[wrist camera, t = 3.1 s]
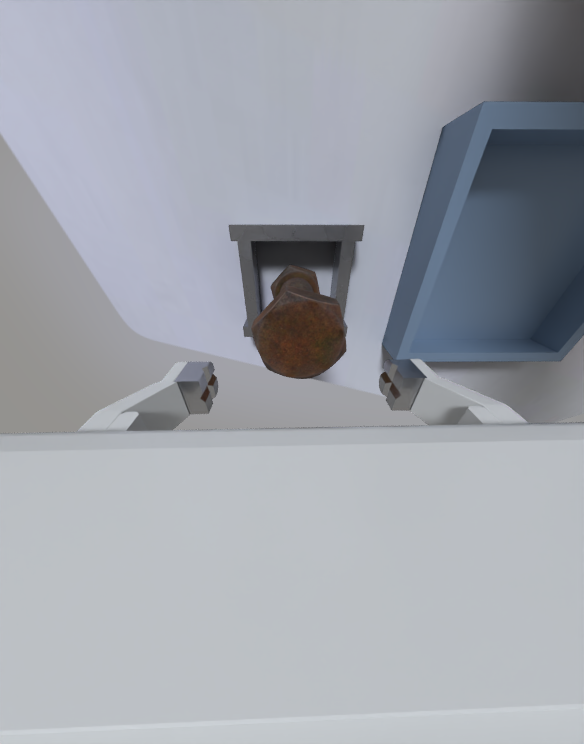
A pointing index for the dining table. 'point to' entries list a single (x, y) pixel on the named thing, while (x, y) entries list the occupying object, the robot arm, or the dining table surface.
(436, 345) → the tray
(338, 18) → the dining table surface
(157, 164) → the dining table surface
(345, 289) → the bracket
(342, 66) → the dining table surface
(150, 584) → the robot arm
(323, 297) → the bolt
